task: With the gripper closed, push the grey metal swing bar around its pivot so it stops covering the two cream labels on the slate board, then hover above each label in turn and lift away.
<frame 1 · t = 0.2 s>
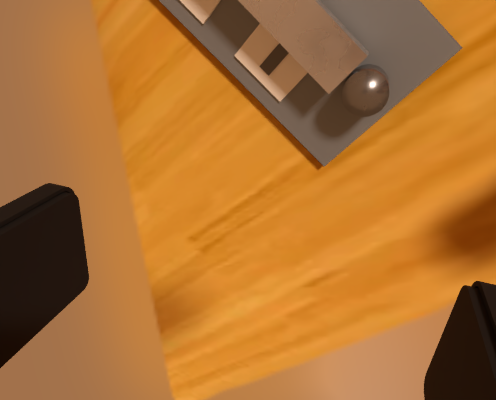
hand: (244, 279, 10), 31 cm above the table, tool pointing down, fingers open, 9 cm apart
label board: (285, 5, 35), on the table
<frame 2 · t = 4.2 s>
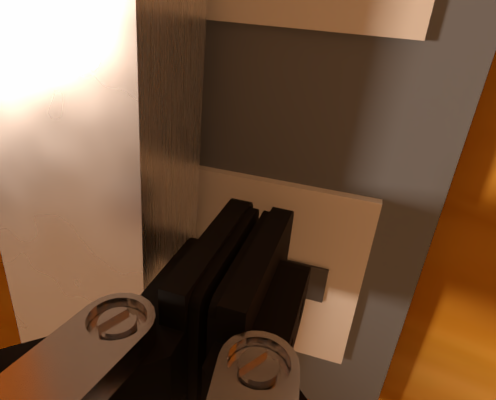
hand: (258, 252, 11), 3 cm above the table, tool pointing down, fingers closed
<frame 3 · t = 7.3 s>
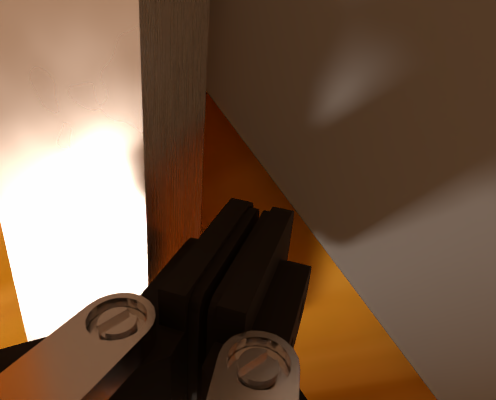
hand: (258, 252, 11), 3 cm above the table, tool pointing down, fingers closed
swing bar: (102, 26, 9), point 3 cm above the table, hinge at -44.4°, touching gripper
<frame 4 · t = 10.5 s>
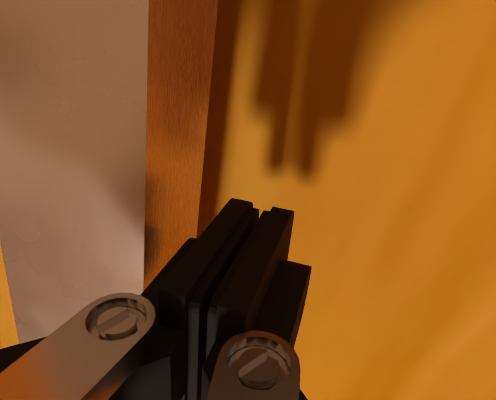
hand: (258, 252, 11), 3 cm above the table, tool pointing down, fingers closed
swing bar: (107, 0, 8), point 3 cm above the table, hinge at -88.9°, touching gripper
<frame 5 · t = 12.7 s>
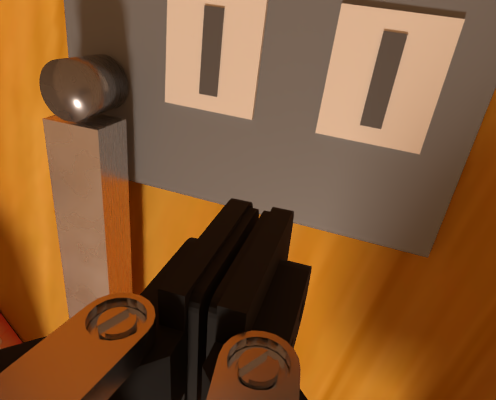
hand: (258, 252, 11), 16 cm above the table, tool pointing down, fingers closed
cracker box: (14, 346, 46), on the table
swing bar: (97, 224, 29), point 3 cm above the table, hinge at -89.0°
label board: (252, 98, 25), on the table
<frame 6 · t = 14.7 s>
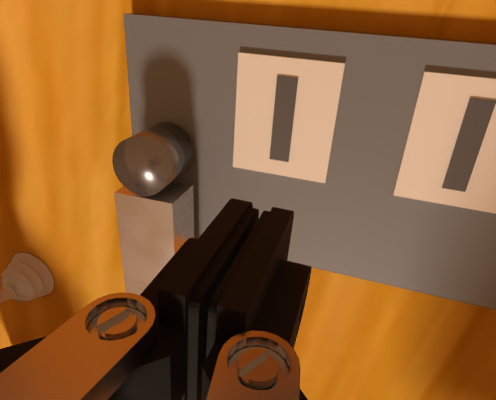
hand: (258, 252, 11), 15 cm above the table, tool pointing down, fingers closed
swing bar: (163, 286, 29), point 3 cm above the table, hinge at -89.0°
label board: (322, 159, 25), on the table
chalice: (33, 273, 39), on the table
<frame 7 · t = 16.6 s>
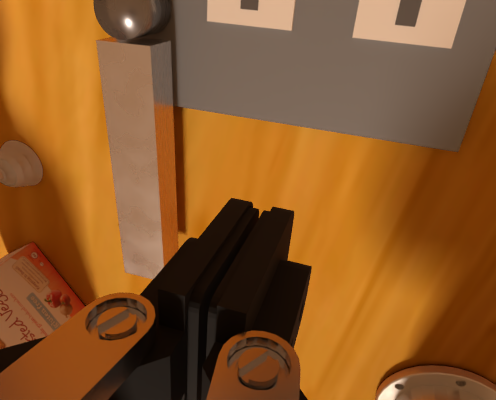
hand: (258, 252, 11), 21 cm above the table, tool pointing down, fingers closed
cracker box: (58, 289, 49), on the table
swing bar: (145, 148, 32), point 3 cm above the table, hinge at -89.0°
label board: (289, 12, 27), on the table
chalice: (23, 162, 41), on the table
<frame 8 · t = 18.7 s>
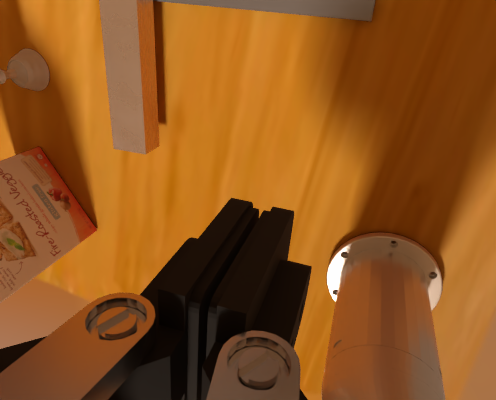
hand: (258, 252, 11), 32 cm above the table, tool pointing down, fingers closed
cracker box: (59, 194, 56), on the table
swing bar: (130, 33, 40), point 3 cm above the table, hinge at -89.0°
chalice: (33, 70, 49), on the table
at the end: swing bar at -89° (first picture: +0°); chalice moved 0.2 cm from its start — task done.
